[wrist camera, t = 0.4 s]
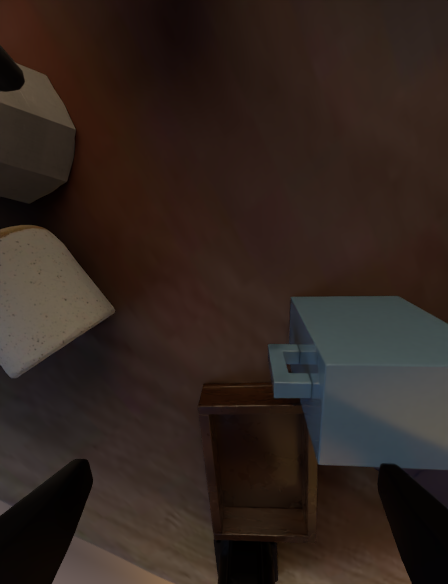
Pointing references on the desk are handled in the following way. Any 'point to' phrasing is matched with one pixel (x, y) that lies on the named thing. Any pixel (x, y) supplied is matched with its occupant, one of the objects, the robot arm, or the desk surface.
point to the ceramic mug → (42, 298)
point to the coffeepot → (32, 134)
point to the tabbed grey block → (367, 380)
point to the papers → (431, 482)
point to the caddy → (258, 464)
